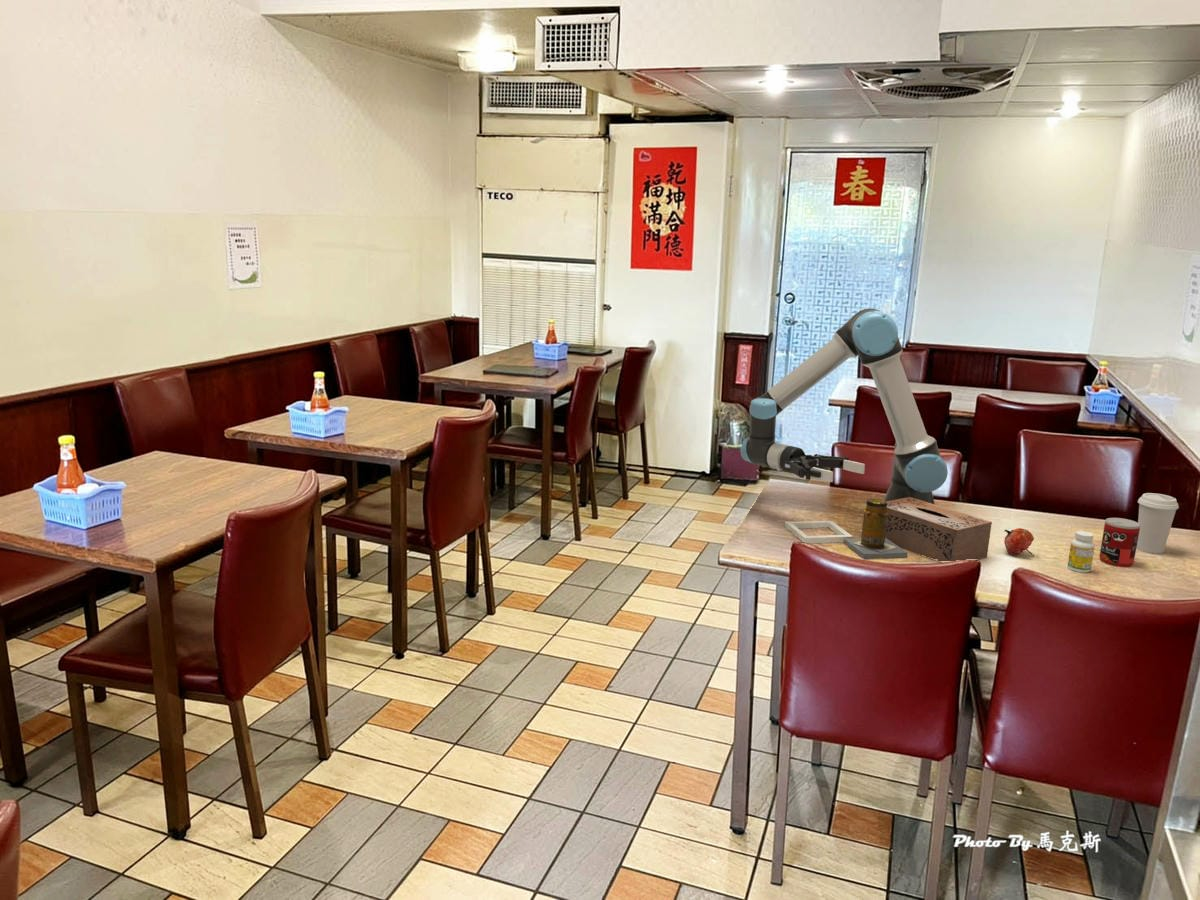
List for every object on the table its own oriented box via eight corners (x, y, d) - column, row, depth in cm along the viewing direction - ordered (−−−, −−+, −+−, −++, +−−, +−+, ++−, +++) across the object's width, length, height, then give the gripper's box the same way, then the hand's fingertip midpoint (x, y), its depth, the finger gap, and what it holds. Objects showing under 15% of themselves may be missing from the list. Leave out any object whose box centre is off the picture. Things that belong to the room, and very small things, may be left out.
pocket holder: (831, 525, 259) (831, 520, 259) (852, 542, 246) (853, 536, 245) (784, 527, 257) (785, 521, 256) (803, 543, 243) (804, 537, 243)
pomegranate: (1025, 558, 244) (997, 532, 246) (1047, 542, 240) (1017, 515, 242) (1022, 569, 238) (992, 542, 240) (1043, 553, 234) (1013, 525, 236)
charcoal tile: (884, 542, 246) (885, 537, 246) (906, 557, 235) (907, 552, 235) (843, 543, 244) (844, 538, 244) (863, 559, 233) (864, 554, 232)
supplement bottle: (1089, 574, 227) (1095, 538, 225) (1066, 570, 230) (1071, 534, 228) (1091, 568, 232) (1097, 532, 229) (1068, 563, 234) (1073, 528, 232)
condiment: (869, 538, 245) (873, 496, 242) (896, 547, 238) (901, 504, 235) (853, 543, 240) (857, 500, 237) (880, 552, 234) (885, 508, 231)
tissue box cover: (872, 538, 250) (875, 503, 248) (906, 530, 258) (909, 496, 256) (952, 567, 230) (957, 530, 227) (986, 558, 237) (991, 522, 235)
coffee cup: (1170, 558, 241) (1180, 504, 238) (1128, 550, 246) (1138, 497, 243) (1170, 548, 249) (1180, 496, 246) (1130, 541, 254) (1139, 490, 251)
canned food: (1092, 556, 240) (1099, 517, 238) (1120, 556, 241) (1127, 517, 238) (1110, 567, 233) (1117, 526, 230) (1139, 567, 234) (1147, 526, 231)
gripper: (814, 464, 267) (875, 479, 251) (756, 478, 252) (817, 494, 236) (815, 439, 266) (877, 452, 249) (757, 451, 251) (819, 466, 234)
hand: (848, 473), depth 243 cm, fingers open, 13 cm apart
